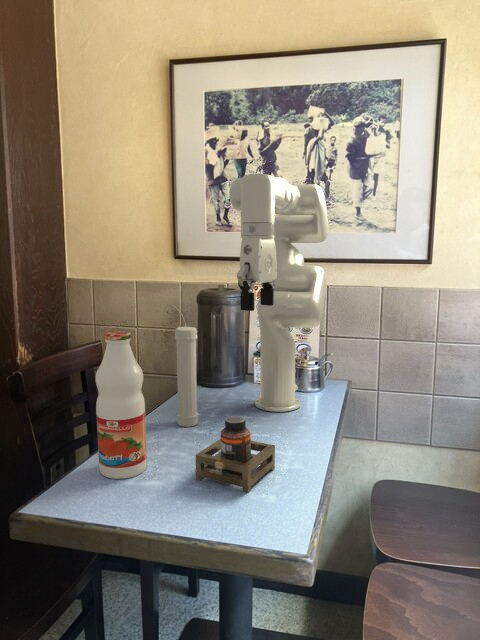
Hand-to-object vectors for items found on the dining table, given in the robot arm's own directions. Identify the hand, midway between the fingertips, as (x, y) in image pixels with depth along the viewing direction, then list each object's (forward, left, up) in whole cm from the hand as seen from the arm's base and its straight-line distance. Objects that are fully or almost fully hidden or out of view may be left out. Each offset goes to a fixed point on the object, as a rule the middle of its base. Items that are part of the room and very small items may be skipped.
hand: (257, 307), depth 120 cm
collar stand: (+21, +6, -30) cm, 37 cm away
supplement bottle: (+21, +6, -31) cm, 37 cm away
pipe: (+2, -19, -30) cm, 36 cm away
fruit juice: (+30, -15, -30) cm, 45 cm away
